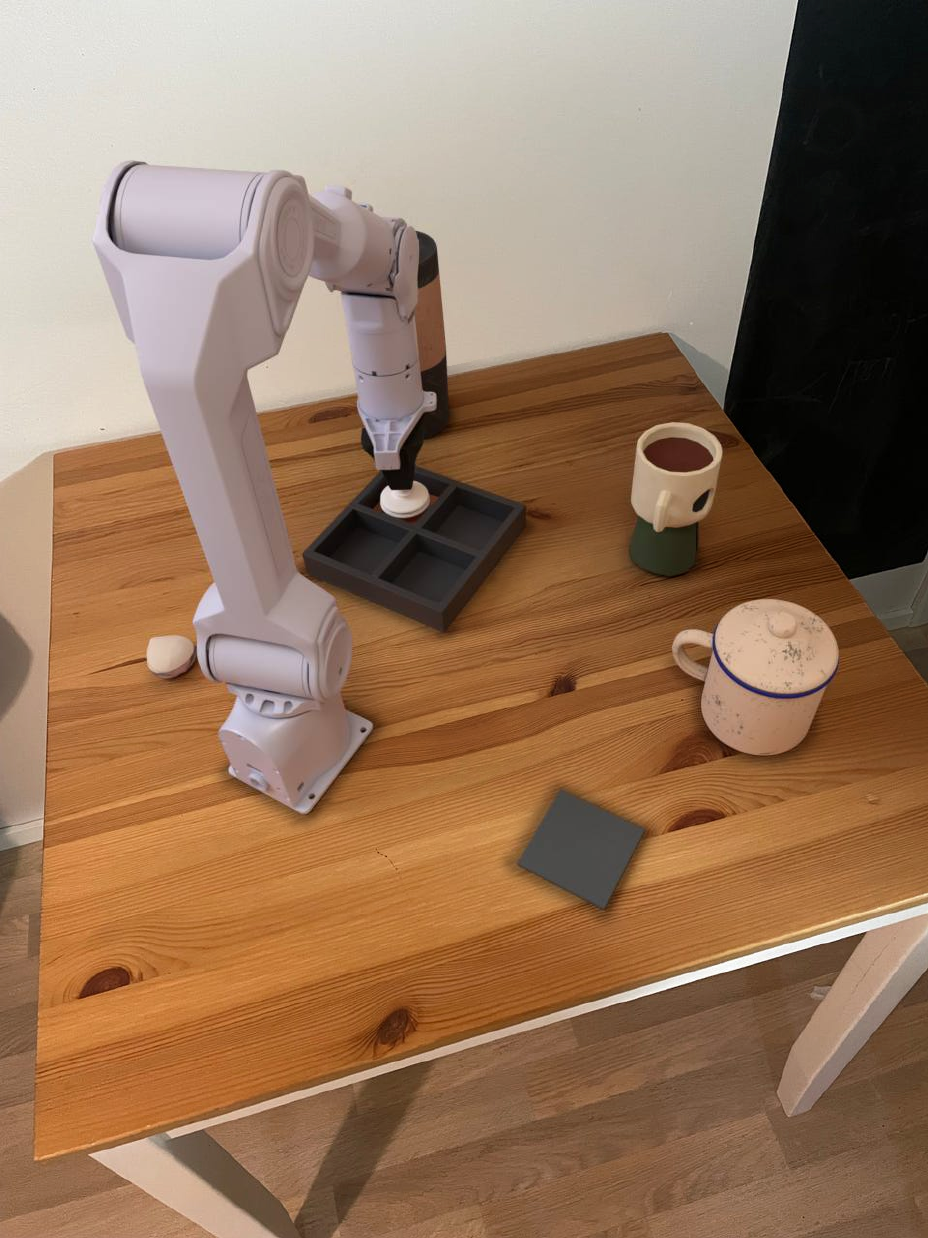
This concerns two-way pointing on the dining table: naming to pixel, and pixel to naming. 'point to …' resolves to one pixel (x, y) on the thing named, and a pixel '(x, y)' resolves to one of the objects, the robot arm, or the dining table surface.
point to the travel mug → (431, 335)
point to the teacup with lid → (762, 674)
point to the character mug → (672, 494)
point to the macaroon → (170, 655)
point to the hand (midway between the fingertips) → (402, 478)
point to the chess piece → (405, 501)
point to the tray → (417, 548)
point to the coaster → (581, 849)
